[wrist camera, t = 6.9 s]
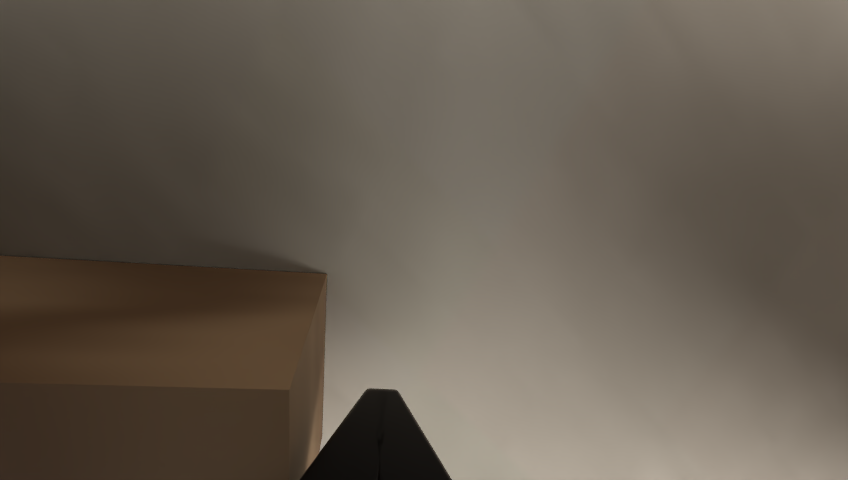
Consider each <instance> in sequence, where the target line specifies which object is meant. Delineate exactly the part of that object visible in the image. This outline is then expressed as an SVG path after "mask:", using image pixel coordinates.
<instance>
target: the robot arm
mask: <svg viewBox="0 0 848 480" xmlns="http://www.w3.org/2000/svg"><path fill="white" fill-rule="evenodd" d="M300 480H452V479H451V478H450V476H449V474H448V473H447V471H446V469H445V468H444V466H443V464H442V463H441V461H440V460H439V458H438V456H437V455H436V453H435V451H434V450H433V448H432V446H431V445H430V443H429V441H428V440H427V438H426V436H425V435H424V433H423V431H422V430H421V428H420V427H419V425H418V423H417V422H416V420H415V418H414V417H413V415H412V413H411V412H410V410H409V408H408V407H407V405H406V403H405V402H404V400H403V398H402V397H401V395H400V394H399V392H398V391H397V390H392V389H371V388H370V389H367V390H366V391H365V392H364V393H363V395H362V396H361V397H360V399H359V400H358V401H357V403H356V404H355V405H354V407H353V408H352V409H351V411H350V412H349V414H348V415H347V416H346V418H345V419H344V420H343V422H342V423H341V424H340V426H339V427H338V428H337V430H336V431H335V432H334V434H333V435H332V436H331V438H330V439H329V440H328V442H327V443H326V445H325V446H324V447H323V449H322V450H321V451H320V453H319V454H318V455H317V457H316V458H315V459H314V461H313V462H312V463H311V465H310V466H309V467H308V469H307V470H306V471H305V473H304V474H303V476H302V477H301V478H300Z"/></svg>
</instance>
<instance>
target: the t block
mask: <svg viewBox="0 0 848 480" xmlns="http://www.w3.org/2000/svg"><path fill="white" fill-rule="evenodd" d="M326 290H327V274H319V273H302V272H284V271H266V270H248V269H230V268H213V267H195V266H177V265H159V264H142V263H124V262H106V261H88V260H70V259H53V258H35V257H17V256H0V480H300V478H301V477H302V476H303V474H304V473H305V471H306V470H307V469H308V467H309V466H310V465H311V463H312V462H313V461H314V459H315V458H316V457H317V455H318V454H319V450H320V444H321V439H322V420H323V387H324V355H325V322H326Z"/></svg>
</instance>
